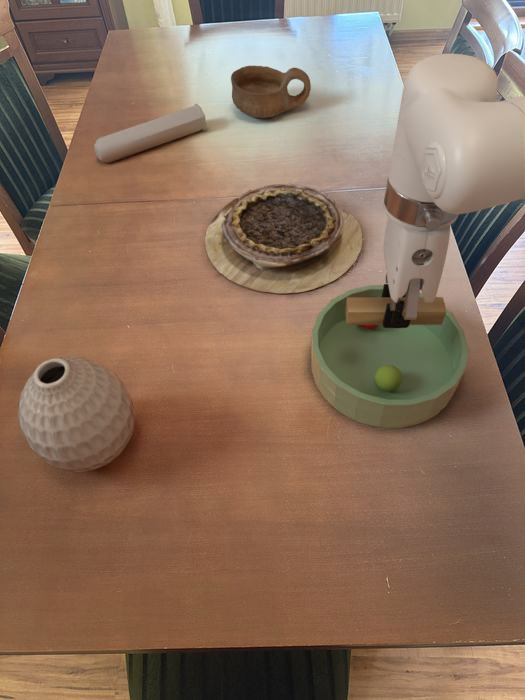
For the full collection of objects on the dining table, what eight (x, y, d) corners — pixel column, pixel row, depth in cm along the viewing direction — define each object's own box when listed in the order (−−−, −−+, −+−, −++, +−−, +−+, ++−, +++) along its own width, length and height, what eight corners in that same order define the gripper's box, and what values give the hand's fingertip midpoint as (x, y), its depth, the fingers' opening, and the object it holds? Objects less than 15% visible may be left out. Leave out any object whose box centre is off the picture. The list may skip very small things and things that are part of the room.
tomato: (381, 334, 76) (385, 318, 73) (357, 334, 76) (359, 318, 74) (379, 316, 78) (382, 299, 76) (355, 316, 79) (358, 300, 76)
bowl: (298, 81, 125) (302, 43, 115) (313, 124, 120) (318, 88, 110) (226, 92, 123) (225, 54, 113) (239, 136, 118) (238, 100, 108)
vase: (150, 400, 72) (119, 323, 59) (139, 487, 64) (100, 421, 51) (60, 404, 72) (9, 328, 59) (38, 491, 64) (-27, 426, 51)
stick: (441, 324, 65) (446, 311, 63) (346, 325, 65) (348, 312, 63) (438, 310, 66) (443, 296, 64) (345, 310, 67) (346, 297, 65)
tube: (98, 153, 104) (206, 115, 111) (87, 135, 106) (195, 98, 112) (103, 171, 109) (206, 134, 116) (92, 153, 111) (195, 117, 117)
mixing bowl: (470, 429, 67) (484, 405, 62) (313, 427, 68) (314, 404, 63) (442, 311, 79) (452, 284, 75) (309, 312, 81) (310, 285, 76)
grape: (401, 396, 69) (406, 381, 67) (374, 396, 70) (378, 381, 67) (398, 374, 72) (402, 359, 69) (372, 374, 72) (375, 359, 69)
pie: (391, 254, 88) (396, 231, 84) (254, 319, 80) (252, 297, 76) (302, 176, 103) (302, 153, 99) (180, 224, 95) (175, 202, 91)
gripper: (479, 250, 46) (433, 368, 60) (446, 149, 55) (414, 272, 70) (395, 250, 46) (369, 367, 61) (377, 151, 56) (359, 272, 71)
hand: (393, 315), depth 65 cm, fingers closed on stick, 2 cm apart
